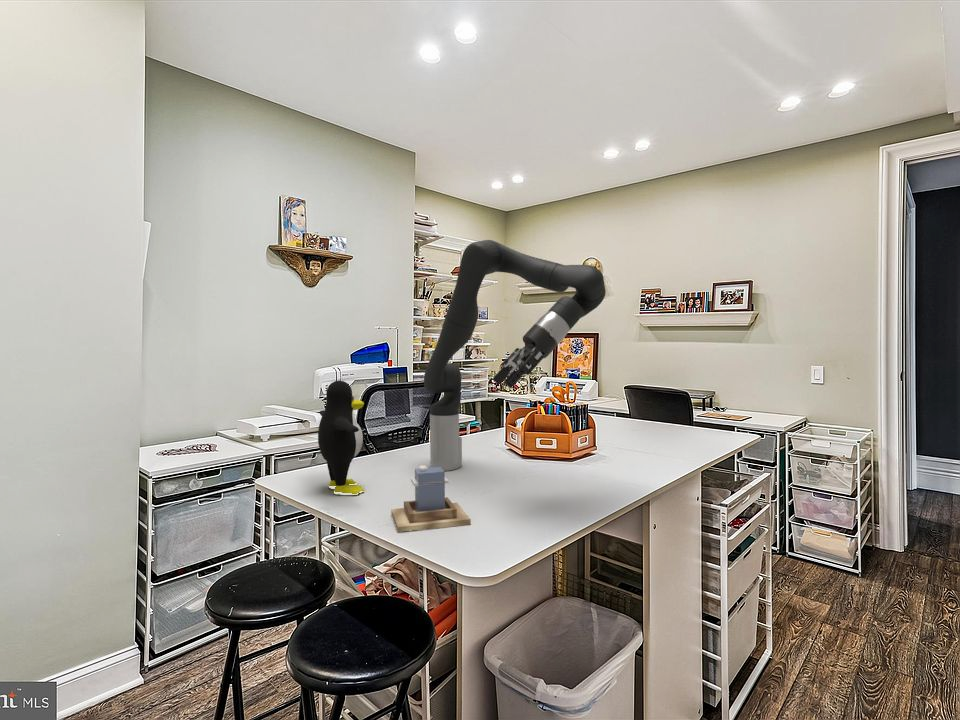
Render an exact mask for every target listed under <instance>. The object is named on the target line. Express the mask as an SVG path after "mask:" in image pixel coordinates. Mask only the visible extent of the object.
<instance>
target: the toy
mask: <svg viewBox="0 0 960 720" xmlns="http://www.w3.org/2000/svg"><path fill="white" fill-rule="evenodd" d="M325 394H326V395H325V396H326V401H325V408H324V410H320V411H319V414H320V416H321V418H320V421H319V425H318V430H317V431H318V434H317V443H318V444H317V445H318V448H319V452H320V454H321V456H322V458H323V459H324V460H325V461H326V466H327V469H328V470H327V471H328V474H329V479H330V482H329V484H328V485H329V486H336V487H335V489H333V491H335V492H342V493H352V494H357V493H359V492H360V491H364V490H365V489H364V488H363V487H362V485H360V484H357V485H349V484H355V483H357V482H356V481H354V479H353V478H348V473H349V469H350V466H351V463H352V462H353V460H354V458H356V456H357V455H358V454H359V453H360V451H361V449H362V447H363V443H364V441H363V440H364V438H363V437H364V435H363V431H362V428H361V426H360V425H359V423H357V419H356V416H355V414H354V411H355V410H356V411H357V410H360V409H362V408H363V407H364V405H365V403H364V401H362V400H359V399H357V398H356V399H355V397H354V395H353V390H352V387H351V386H350V385H349V383H347V382H346V381H344V380H334V381H333V382H331V383H330V384H329V385H328V387H327V389H326V393H325Z"/></svg>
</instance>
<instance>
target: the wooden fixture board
mask: <svg viewBox="0 0 960 720" xmlns="http://www.w3.org/2000/svg"><path fill="white" fill-rule="evenodd" d="M390 513H392V515H391V517H392V516H393V517H392V520H393V519H394V520H393V523H394V522H395V523H394V525H395V524H396V526H395V528H396V527H397V529H396V531H397V530H398V531H397V533H398V532H400V533H403V532H402V531H409V532H411V531H410V530H418V531H425V530H424V529H426V530H435V529H442V528H451V527H460V526H461V527H462V526H468V525H469V526H470V525H471V521H472V520H471V518H470V517H469V515H468V514H467V512H466V511H465V510H464V509H463V507H462V506H461V505H460V504H459V502H452V501H451V500H450V499H449V497H446V496H445V509H440V510H430V511H421V512H415V500H407V501H405V500H404V501H403V507H400V508H399V507H398V508H391V512H390Z"/></svg>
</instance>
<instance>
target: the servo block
mask: <svg viewBox="0 0 960 720" xmlns="http://www.w3.org/2000/svg"><path fill="white" fill-rule="evenodd" d="M445 472H446V471H444V470H443V469H442V468H441V467H433V468H431V467H427V466H426V465H419V468H415V469H414V477H411V478H410V482H411V483H412V485H413V487H414V496H415V497H414V498H415V500H414V501H415V512H421V511H430V510H440V509H445V498H446V493H445V492H446V490H445V489H446V486H445V485H446V484H449V483H450V482H449V479H448V478H447V477H446V475H445V474H446V473H445Z"/></svg>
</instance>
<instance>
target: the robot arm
mask: <svg viewBox="0 0 960 720" xmlns="http://www.w3.org/2000/svg"><path fill="white" fill-rule="evenodd" d="M494 273H505V274H506V273H507V274H512V275H515V276H518V277H520V278H522V279H523V280H525V281H526V282H528V283H530V284H531V285H533V286H536V287H540V288H542V289H545V290H549V291H552V292H556V293H565V292H566V291H567V290H568V289H569V288H573V289H575V294H574V295H572V296H571V297H570V296H567V295H566V296H562V297H560V298H559V299H558V300H557V301H556V302H555V303H554V304H553V305H552V306H551V307H550V308H549V309H548V311H546V312H545V313H544V314H543V315H542V316H541V317H539V319H538V320H536V322H535V323H534V324H533V325H532V326H531V327H530V328H529V330H528V331H526V333H524V335H523V336H522V341H523V344H524V346H523V347H522V348H519V347H516V348H515V350H513V352H512V353H511V354H510V355H509V356H507V358H506V359H505V360H504V361H503V362H502V363H501V368H500V369H499V371H498V372H497V373H496V374H495V375H494V376H493V377H492V380H493V381H494V382H495V384H497V385H501V384H502V383H504V384H505V385H506V386H507V387H508V388H513V387H514V386H515V385H516V384H517V383H518V382H519V380H520V379H521V378H522V377H524V376H529V375H530V374H531V372H533V371H534V369H536V367H537V366H538V365H539V364H540V362H541V361H542V360H543V359H547V357H548V356H549V355H550V354H551V353H552V352H553V351H554V350H555V349H556V348H557V347H558V345H559V344H561V342H562V341H563V340H564V338H565V337H566V336H567V335H568V333H569V332H570V331H571V330H572V328H573V327H574V326H575V325H576V324H577V323H578V322H579V320H580V319H582V318H583V317H585V316H586V315H588V314H590V313H591V312H593V311H594V310H595V309H597V308H598V307H599V306H600V305H601V304H602V302H603V301H604V299H605V297H606V291H607V290H606V285H605V278H604V274H603V273H602V271H601V270H600V269H598V268H597V267H595V266H592V265H588V264H563V263H558V262H555V261H550V260H547V259H542V258H539V257H535V256H532V255H529V254H528V255H527V254H525V253H522V252H521V251H517V250H515V249H513V248H511V247H508V246H506V245H504V244H503V243H499V242H498V241H495V240H493V239H492V240H491V239H483V240H479V241H474V242H471V243H470V244H468V245H467V246H466V247H465V248H464V251H463V253H462V256H461V260H460V263H459V270H458V275H457V278H456V283H455V287H454V290H453V293H452V295H451V300H450V304H449V305H448V308H447V311H446V314H445V317H444V321H443V323H442V326H441V330H440V334H439V337H438V339H437V341H436V345H435V348H434V350H433V352H432V354H431V357H430V359H429V360H428V363H427V365H426V368H425V371H424V375H423V385H424V388H425V390H426V391H427V392H428V393H431V394H443V395H442V398H440V399H439V400H437V401H435V402H434V403H432V404H431V405H430V406H429V449H430V451H429V453H430V454H429V455H430V459H429V460H430V461H429V462H430V468H433V467H441V468H442V469H443V470H444V472H446V471H447V472H448V471H454V470H457V469H460V468H462V467H463V438H462V436H460V407H461V402H462V401H461V399H462V398H461V397H462V396H461V395H462V373H461V370H460V367H459V366H458V365H457V364H456V363H454V362H453V363H451V362H450V363H449V361H450V360H451V358H453V356H454V355H455V354H457V353H458V351H460V350H461V349H463V347H464V346H465V345H466V344H467V343H468V342H469V341H470V340H471V338H472V335H473V333H474V330H475V328H476V325H477V322H478V319H479V306H478V294H479V291H480V288H481V285H482V283H483V280H484V279H485V277H486V276H487V275H491V274H494Z"/></svg>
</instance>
